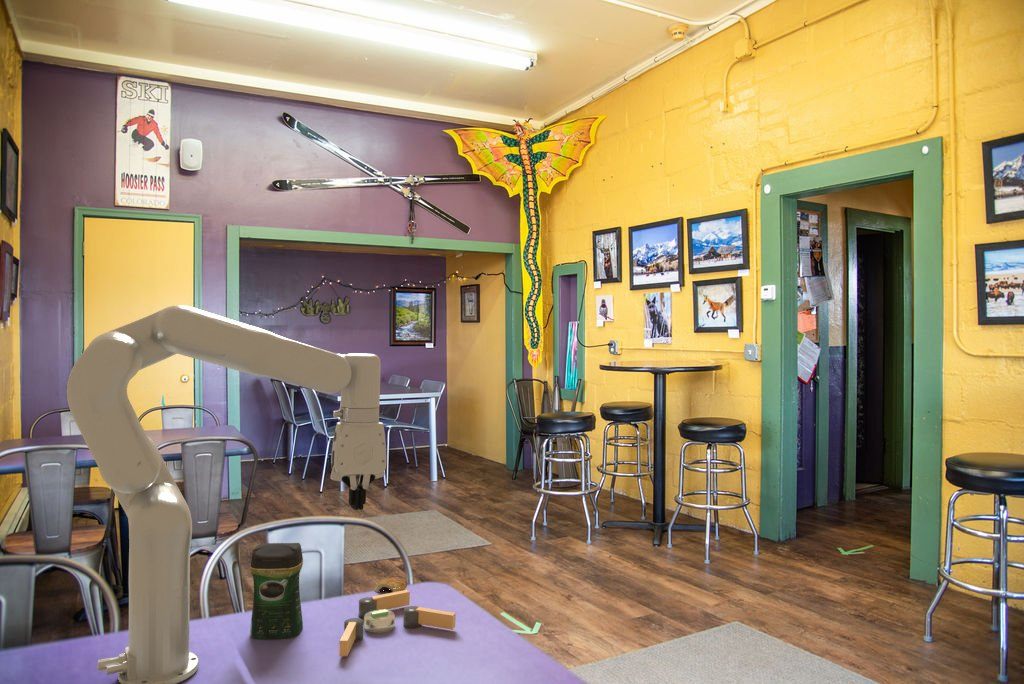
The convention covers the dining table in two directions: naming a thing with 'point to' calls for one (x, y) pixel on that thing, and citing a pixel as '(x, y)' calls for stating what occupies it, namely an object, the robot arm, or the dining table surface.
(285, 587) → the coffee jar
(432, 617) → the knob right
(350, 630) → the knob left
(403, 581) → the pastry
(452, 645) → the dining table surface
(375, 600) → the knob back
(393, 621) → the level plate
